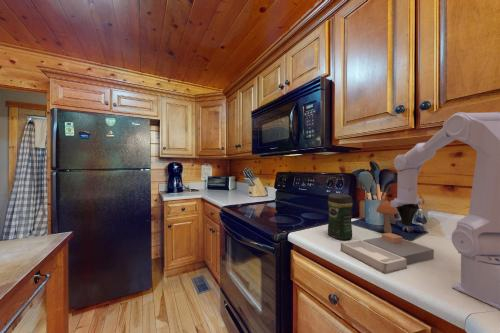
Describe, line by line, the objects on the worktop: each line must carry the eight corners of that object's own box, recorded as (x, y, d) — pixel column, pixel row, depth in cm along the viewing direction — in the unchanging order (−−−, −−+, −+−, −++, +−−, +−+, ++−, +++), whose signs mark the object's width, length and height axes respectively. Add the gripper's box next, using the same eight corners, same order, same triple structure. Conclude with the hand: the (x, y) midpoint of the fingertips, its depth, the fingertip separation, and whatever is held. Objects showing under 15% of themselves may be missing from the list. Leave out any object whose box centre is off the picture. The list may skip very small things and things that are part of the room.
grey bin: (406, 268, 60) (406, 258, 60) (384, 273, 57) (384, 264, 57) (359, 246, 75) (359, 239, 75) (340, 250, 72) (340, 242, 72)
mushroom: (371, 231, 93) (372, 199, 93) (383, 229, 96) (384, 198, 95) (389, 237, 85) (389, 202, 85) (401, 235, 88) (401, 201, 88)
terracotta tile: (402, 242, 72) (402, 236, 72) (393, 243, 71) (393, 238, 71) (390, 237, 77) (390, 232, 77) (381, 239, 75) (381, 234, 75)
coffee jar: (356, 239, 83) (356, 194, 83) (341, 241, 81) (341, 195, 80) (338, 231, 92) (338, 191, 92) (324, 234, 90) (324, 192, 89)
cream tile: (378, 260, 60) (378, 267, 60) (389, 258, 61) (389, 264, 61) (365, 254, 64) (365, 260, 64) (376, 252, 65) (375, 258, 65)
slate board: (433, 258, 66) (433, 249, 66) (402, 266, 61) (402, 256, 61) (391, 242, 79) (391, 235, 79) (363, 248, 74) (363, 240, 74)
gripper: (408, 186, 79) (407, 220, 80) (382, 187, 74) (382, 223, 75) (429, 188, 73) (428, 225, 73) (402, 189, 68) (401, 229, 68)
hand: (406, 224), depth 73 cm, fingers closed
